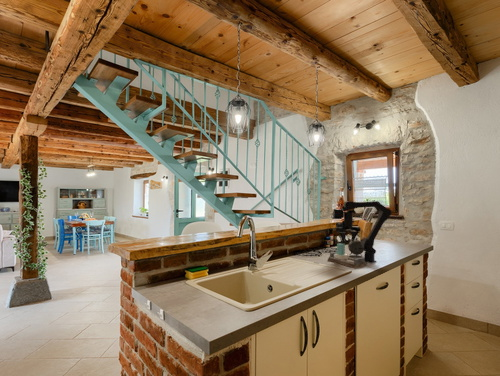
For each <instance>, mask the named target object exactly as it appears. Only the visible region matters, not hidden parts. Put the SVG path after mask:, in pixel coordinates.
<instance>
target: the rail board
mask: <svg viewBox="0 0 500 376" xmlns="http://www.w3.org/2000/svg"><path fill="white" fill-rule="evenodd" d="M334 254H337V251H333V252H332V251H331V252H329V256H328V258H327V261H329V262H332V263H335V264H339V265H342V266H346V267H349V268H353V269H357V268H361V267H367V266H368V265H367V263H368V262H366V261H364V257H358V258H357V257H356V258H353V257H349V256H348V259H345V260H341V259H337V258H334Z"/></svg>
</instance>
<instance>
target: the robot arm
mask: <svg viewBox="0 0 500 376" xmlns="http://www.w3.org/2000/svg"><path fill="white" fill-rule="evenodd" d="M342 204H343V205H342V207H340V209H337V208H335V209H334V208H332V209H333V212H332V219H333V220H342V221H341V222H339V221H337V222H335V227H336V228H335V232H336V233H338V234H339V236H340V239H341V242H342V243H345V241H346V237H347V232H348V231H349V232H350V233H351V234H350V236H351V241H354V240H355V239H356V238H357V237H358V235H359V233H360V232H361V230H362V229H361V226H353V225H354V224H353V223H355V221H354V220H353V219H354V218H353V216H354V214H356V213H357V212H356V211H355V209H359V208H374V209H375V210H376V211H377V212H378V214H377V219H376V221H375V223H374V225H373V226H372V228H371V230H370V232H369V234H368V236H366V237H363V238H362V240H360V241H361V247H362V248H363V249H364V251H363V252H364V255H363V256H364V257H363V258H364V261H365V263H369V264H370V263H371V264H372V263H377V260H375V254H376V253H377V250H376V249H375V248H374V245H375V239H376V238H377V235H378V234H379V233H380V230H381V228H382V227H383V224H384V223H385V222H386V221H387V220H389V219H390V217H391V215H392V210H391V209H390V208H387V207H386V206H385V205H383V204H382V203H380V201H378V200H377V201H375V200H374V201H359V202H358V201H357V202H356V201H350V200H349V201H348V200H346V201H344V203H342ZM357 234H358V235H357Z"/></svg>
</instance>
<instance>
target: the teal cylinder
mask: <svg viewBox="0 0 500 376" xmlns="http://www.w3.org/2000/svg"><path fill="white" fill-rule="evenodd" d="M345 248H346V245H345V243H336V252H337V254H334V258H337V259H341V260H345V259H348V257H349V255H348V254H347V253H346V249H345Z"/></svg>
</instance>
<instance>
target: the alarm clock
mask: <svg viewBox="0 0 500 376" xmlns="http://www.w3.org/2000/svg"><path fill="white" fill-rule="evenodd" d="M359 238H360V235H359V233H358V234H357V237H356V238H355V240H354V241H352V240H350V241H349V243H348V245H347V249H348V251H349V252H350V253H349V255H350V256H351V255H355V256H356V257H358V256H359V255H360V256H362V257H363V255H362V253H363V254H364V252H365V251H364V249H363V248H362V247H361V241H362V240H360V239H359Z"/></svg>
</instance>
